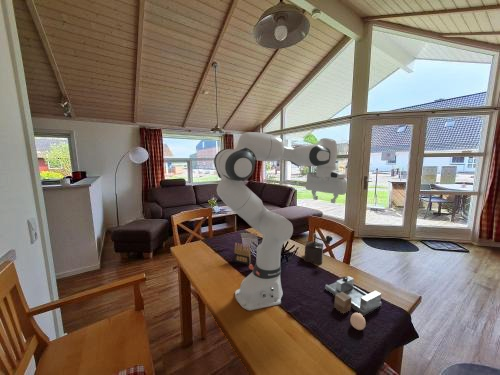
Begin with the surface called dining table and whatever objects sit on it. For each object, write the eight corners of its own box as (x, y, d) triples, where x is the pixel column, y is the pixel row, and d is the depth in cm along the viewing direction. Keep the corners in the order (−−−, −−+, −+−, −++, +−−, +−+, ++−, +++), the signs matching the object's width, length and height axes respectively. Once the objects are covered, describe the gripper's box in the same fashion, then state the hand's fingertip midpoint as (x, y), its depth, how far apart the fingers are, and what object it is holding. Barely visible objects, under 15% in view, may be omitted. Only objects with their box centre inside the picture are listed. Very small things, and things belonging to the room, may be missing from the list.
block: (343, 314, 86) (344, 301, 85) (334, 307, 90) (335, 294, 89) (350, 310, 88) (351, 297, 87) (341, 304, 92) (342, 291, 91)
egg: (351, 320, 83) (353, 307, 82) (366, 327, 80) (367, 313, 79) (348, 328, 79) (349, 314, 78) (363, 336, 76) (364, 321, 75)
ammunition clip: (250, 263, 126) (251, 244, 124) (249, 265, 124) (249, 245, 123) (235, 259, 131) (235, 241, 129) (233, 261, 129) (233, 242, 127)
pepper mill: (303, 261, 129) (305, 233, 126) (305, 254, 139) (307, 228, 137) (330, 267, 123) (332, 237, 121) (331, 258, 133) (332, 231, 131)
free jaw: (340, 293, 96) (341, 281, 95) (335, 290, 98) (336, 279, 97) (353, 288, 100) (354, 276, 100) (348, 285, 103) (349, 274, 102)
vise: (363, 316, 85) (365, 302, 84) (324, 289, 102) (325, 276, 101) (381, 306, 90) (382, 293, 90) (341, 282, 108) (342, 270, 107)
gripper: (303, 172, 108) (302, 198, 109) (343, 174, 92) (340, 205, 94) (310, 171, 112) (309, 197, 114) (349, 174, 96) (347, 203, 98)
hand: (323, 201), depth 104 cm, fingers open, 8 cm apart
